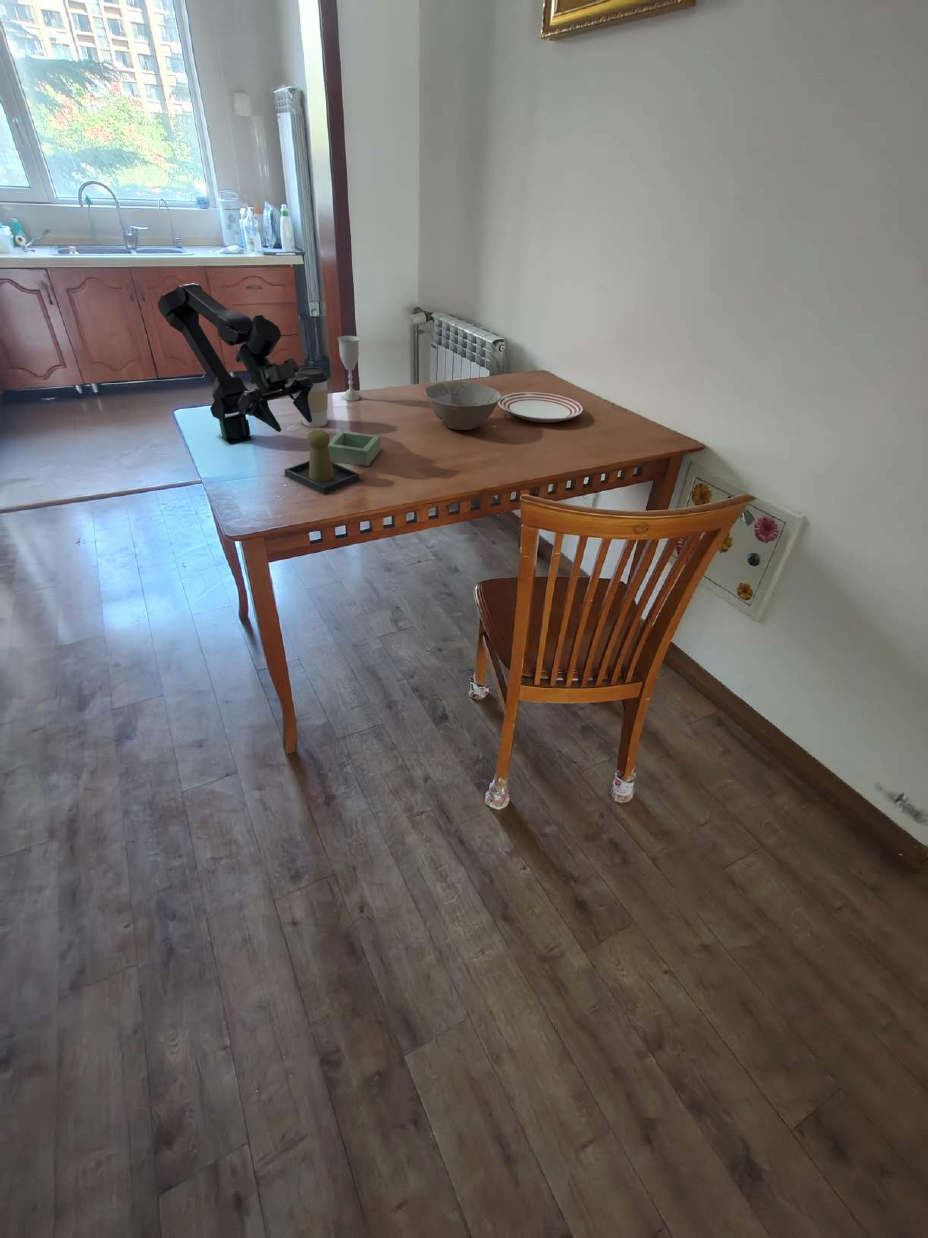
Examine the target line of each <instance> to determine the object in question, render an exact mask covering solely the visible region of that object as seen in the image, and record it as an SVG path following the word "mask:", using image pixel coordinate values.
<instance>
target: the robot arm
mask: <svg viewBox="0 0 928 1238" xmlns="http://www.w3.org/2000/svg"><path fill="white" fill-rule="evenodd" d="M157 306H158V310H159V313H160V314H161V315H162V317H163V318H164V319H165V320H166V322H167V324H168V325H169V326H170V327H171V328H173V329H175V330H176V331H178V332H179V333H181V334H182V336H183V337H184V339H185V341H186V342H187V344H188V346H189V348H190V349H191V351H192V352H193V354H194V356H195V358H196V359H197V361H198V362H199V365H200V366H201V368H202V369H203V371H204V372H205V374H206V376H207V377H208V379H209V380H210V382H211V384H212V398H213V402H212V404H211V405H210V409H209V410H210V412H211V415H212V417H213V418H215V419H217V420H218V423H219V427H220V434H219V437H220V438H221V439H222V440H224V441H225V442H226V443H227V444H235V443H241V442H245V441H250V440H253V437H252V436H251V427H250V422H249V419H247V415H248V416H249V417H254V418H256V419H258V420H259V421H261V422H262V423H264V424H266V425H267V426H269V427H270V428H272V429H273V430H275V431H276V432H277V433H281V431H282V427H281V426H280V424H279V422H278V420H277V418H276V416H275V415H274V414H273V412H272V410H271V408H270V406H269V401H270V402H271V401H273V400H277V399H281V398H284V397H289V398H290V399H291V400H293V401H292V404H293V406H294V407H295V408H296V409H297V410H298V412H299V413H300V414H301V416H302V415H303V417H304V418H305V419H306V420H307V421H308V422H309V423H311V422H312V417H311V413H310V408H309V403H308V394H309V393H310V391H311V389H312V388H313V386H314V385H313V383H312V381H311V380H310V379H309V378H308V377H303V378H298V379H295V377H296V376H295V374H296V373H297V372H299V369H300V368H299V366H298V362H296V360H295V359H294V357H291V358H287V359H285V360H283V363H280V364H278V363H276V362H273V363H272V362H271V360H270V358H269V356H271V354H272V353H273V351H274V350H275V348H276V346H277V344H278V343H279V341H280V340H281V336H282V332H281V330H280V328H279V326H278V325H276V324H275V323H274V322H273V321H271V320H269V319H267V318H265V316H264V314H258V315H257V314H256V315H254V317H253V319H252V318H250V316H247V315H246V314H243V313H241V312H238V311H234V310H230V309H229V308H227V307H225V306H224V305H223V304H222V303H220V302H219V301H218V300H216V299H215V298H213V297H212V296H211V295H210V294H209V293H207V292H206V291H205V290H203V288H202V287H201V285H200V284H199V283H185V284H180V285H178V286H177V287H176V288H175V289H173V290H171V291H169V292H167V293H165V294H162V295H160V296H159V299H158V301H157ZM200 316H202V317H203V318H204V319H206V320H207V321H208V322H209V323H211V324H212V325H213V326H214V328H216V332H217V335H218V337H219V338H220V339H221V340H222V341H223V342H224V343H225V344H227V346H230V347H233V346H238V345H241V346H240V347H239V348H238V349H236V355H235V362H236V363H242V364H243V365H244V367H245V369H246V370H247V371H248V373H249V375H250V376H251V377H250V379H249V381H250V383H251V384H252V385H256V388H252V389H249V388H247V387H246V385H245V384H244V382H243V379H242V378H241V377H240V376H232V375H230V373H229V372H228V370H227V368H226V366H225V365H224V363H223V362H222V360H221V358H220V356H219V355H218V353H217V351H216V350H215V348H214V346H213V345H212V343H211V341H210V340H209V338H208V336H207V334H206V333H205V331H204V330H203V328H202V326H201V324H200ZM291 378H294V379H293V381H292V383H291V384H290V385H289V386H287V385H288V384H289V382H290V380H289V379H291Z"/></svg>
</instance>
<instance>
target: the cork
mask: <svg viewBox="0 0 928 1238" xmlns="http://www.w3.org/2000/svg"><path fill="white" fill-rule="evenodd" d="M330 440H331V438H330V434H329V433H328V432H327V431H326V430H323V429H314V430H313V429H312V430H311V431H309V432H308V433H307V435H306V441H307V444H308V445H309V460H310V465H309V478H310V479H312V480H315V481H328V480H331V479H332V478H333V477H334V472H333V468H332V463H331V462H332V461H331V458H330V453H329V449H328V445H329V442H330Z"/></svg>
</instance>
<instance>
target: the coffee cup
mask: <svg viewBox="0 0 928 1238" xmlns="http://www.w3.org/2000/svg"><path fill="white" fill-rule="evenodd" d="M295 376H296V377H294V380H295V379H298V378H303V377H308V378H309V379H310V380H311V381H312V383H313V385H314V386H313V388H312V389H311V391H310V393H309V394H308V403H309V408H310V413H311V417H312V422H311V423H309V422H308V421H307V420H306V419H305V418H304V417H303V415H302V414H301V417H302V423H303V425H305V426H307V427H312V428H320V427H324V426H327V424H328V407H329V406H328V403H329V400H328V399H329V398H328V397H329V396H328V392H329V390H328V389H329V388H328V379H329V378H328V375H327V374H326V372H324V371H323V369H322V367H321V366H313V367H311V366H309V367H308V366H306V367H301V368H299V372H297V373H295Z"/></svg>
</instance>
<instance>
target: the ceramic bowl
mask: <svg viewBox="0 0 928 1238" xmlns="http://www.w3.org/2000/svg"><path fill="white" fill-rule="evenodd" d="M423 393H424V396H425V398H426V399H427V402H428V404H429V405H430V408H431V409H432V411H433V413H434V414H435V416H436V417H437V418H438V420H439V422H440V423H441V424H442V425H443V426H444V427H446V428H449V429H451V430H455V431H456V430H458V431H470V430H475V429H477V428H479V427H481V426H482V425H483V424H484V423H485V422H486V421H487V420H488V419H489V417H490V416H491V415H492V414H493V412H494V411H495V409H496V407H497V405H499V404H498V402H499V401H500V399H501V397H503V396H502V393H501V392H500V391H498V390H496V389H495V388H493V387H491V386H487V385H484V384H480V383H475V382H470V381H469V382H467V381H448V382H439V383H434V384H431V385H428V386H426V387H425V388H424V391H423Z"/></svg>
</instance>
